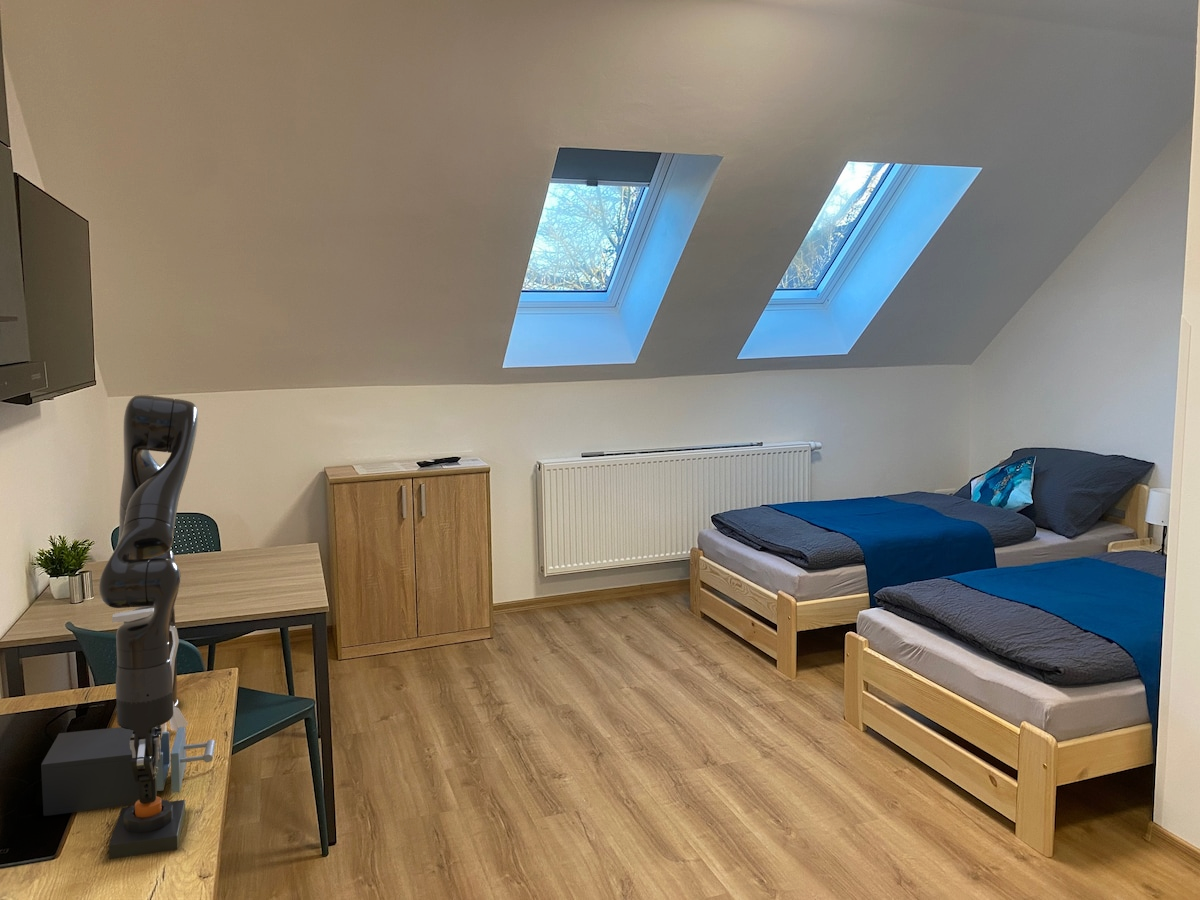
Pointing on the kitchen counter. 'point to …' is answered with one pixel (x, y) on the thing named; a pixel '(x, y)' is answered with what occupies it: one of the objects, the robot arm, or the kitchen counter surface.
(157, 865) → the kitchen counter surface
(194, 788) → the kitchen counter surface
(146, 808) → the button
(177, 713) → the fire extinguisher
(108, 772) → the drawer housing
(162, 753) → the drawer
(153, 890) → the kitchen counter surface
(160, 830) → the control block
